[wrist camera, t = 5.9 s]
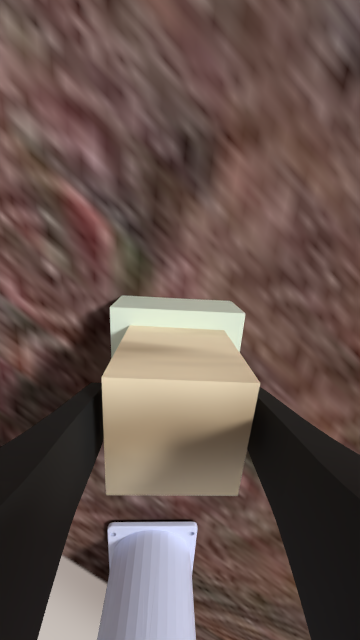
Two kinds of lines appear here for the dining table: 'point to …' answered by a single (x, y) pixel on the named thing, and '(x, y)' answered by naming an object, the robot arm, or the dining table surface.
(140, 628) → the robot arm
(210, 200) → the dining table surface
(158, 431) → the maple cube
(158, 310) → the base block
